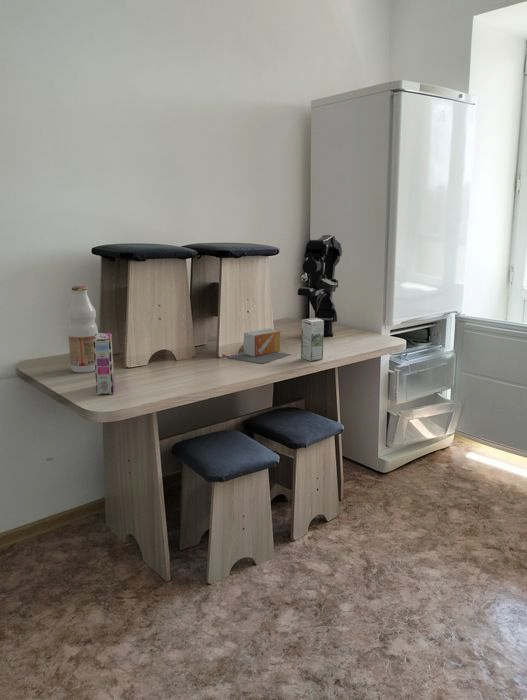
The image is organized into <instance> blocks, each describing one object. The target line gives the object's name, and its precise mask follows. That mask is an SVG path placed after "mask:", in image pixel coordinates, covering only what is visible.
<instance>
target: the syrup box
mask: <svg viewBox="0 0 527 700" xmlns="http://www.w3.org/2000/svg"><path fill="white" fill-rule="evenodd" d="M323 335H324V321H323V320H321V319H318V318H315V317H312V318H306V319H305V318H304V319H301V336H300V337H301V338H300V341H301V342H300V343H301V347H300V348H301V349H300V359H302V358H303V359H302V360H305V359H306V360H305V361H308V360H309V361H308V362H314V360H315V361H320V359H321V360H324V336H323Z"/></svg>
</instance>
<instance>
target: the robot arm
mask: <svg viewBox="0 0 527 700" xmlns="http://www.w3.org/2000/svg"><path fill="white" fill-rule="evenodd" d="M342 254H343V250H342V245H341V243H340V242H339V241H338V240H337V239H336V237H335V235H332V234H329V235H326V234H325V235H321V237H319V238H317V239H309V240H308V242H306V247H305V252H304V259H305V258H307V259H306V260H304V261H303V264H302V270H303V272H304V273H305V274H307V275H306V278H308V284H307V285H306V286H303V287H299V288H298V289H297V296H302V297H303V296H304V297H307V299H308V301H309V303H310V304H311V308H312V310H313V312H314V318H318V319H321V320H323V321H324V335H323V337H334V334H335V332H333V326H334V325H333V323H335V322H338V313H337V309H336V308H335V307H336V305H335V303H334V300H333V292H334V293H335V292H336V289H337V288H339V280H338V279H337V278H335V273H336V267H337V265H338V264H339V263H340V262H341V261H340V259H341V257H342Z"/></svg>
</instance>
